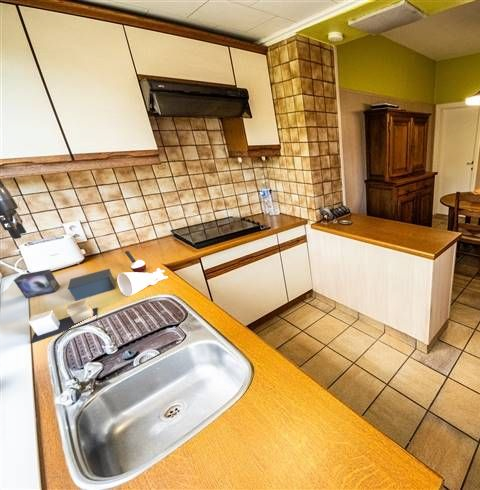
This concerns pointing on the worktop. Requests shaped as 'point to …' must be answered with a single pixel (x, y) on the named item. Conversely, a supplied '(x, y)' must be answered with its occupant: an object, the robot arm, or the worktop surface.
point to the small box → (37, 283)
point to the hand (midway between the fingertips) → (20, 235)
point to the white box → (44, 322)
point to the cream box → (80, 311)
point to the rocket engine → (137, 281)
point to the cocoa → (136, 264)
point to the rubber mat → (60, 327)
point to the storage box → (91, 284)
